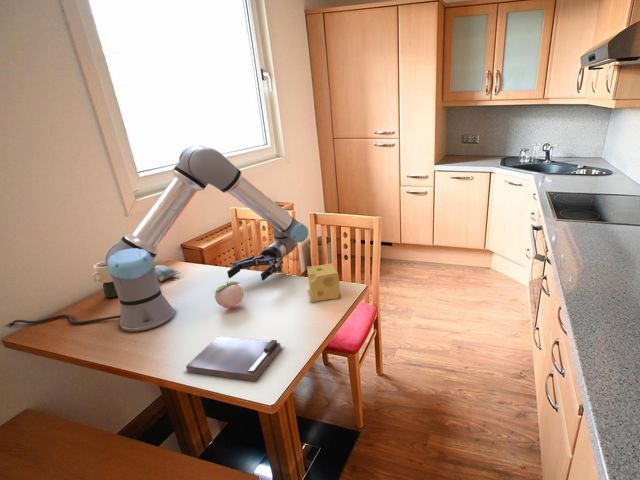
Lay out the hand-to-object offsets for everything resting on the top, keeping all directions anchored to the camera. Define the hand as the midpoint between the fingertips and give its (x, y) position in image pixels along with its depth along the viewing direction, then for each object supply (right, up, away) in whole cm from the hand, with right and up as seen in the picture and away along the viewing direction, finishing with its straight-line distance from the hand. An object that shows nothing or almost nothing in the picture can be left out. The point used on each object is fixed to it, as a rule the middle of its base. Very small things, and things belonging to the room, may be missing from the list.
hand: (245, 276), depth 138 cm
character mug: (-51, -8, +6) cm, 52 cm away
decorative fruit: (-2, -11, -6) cm, 13 cm away
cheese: (+29, -7, +1) cm, 30 cm away
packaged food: (-41, -2, +20) cm, 45 cm away
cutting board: (+10, -21, -33) cm, 41 cm away
